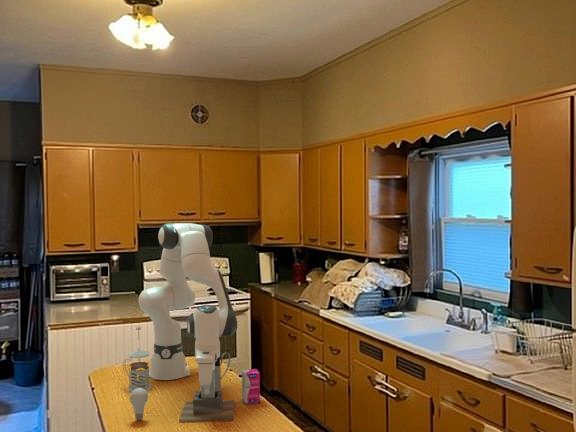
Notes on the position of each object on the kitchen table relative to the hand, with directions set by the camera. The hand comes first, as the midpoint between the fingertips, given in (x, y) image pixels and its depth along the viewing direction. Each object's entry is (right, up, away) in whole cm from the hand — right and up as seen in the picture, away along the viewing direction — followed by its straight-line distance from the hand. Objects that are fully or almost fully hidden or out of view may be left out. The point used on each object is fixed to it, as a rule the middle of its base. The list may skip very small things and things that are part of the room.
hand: (207, 390), depth 207 cm
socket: (0, -8, 0) cm, 8 cm away
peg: (0, -5, 0) cm, 5 cm away
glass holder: (0, -7, +26) cm, 27 cm away
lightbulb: (-23, -8, -7) cm, 25 cm away
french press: (-32, -8, +28) cm, 44 cm away
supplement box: (+15, -8, +11) cm, 20 cm away
